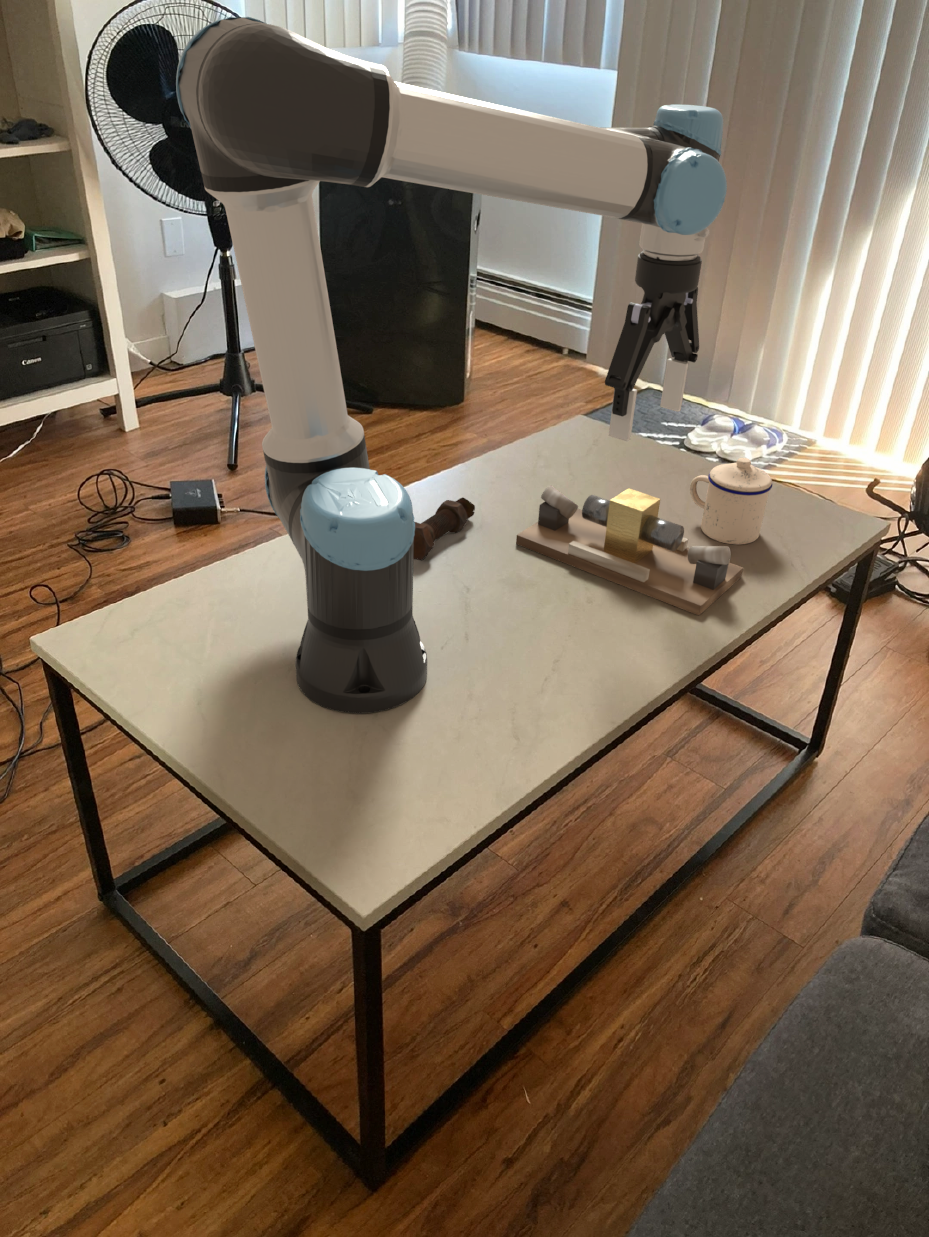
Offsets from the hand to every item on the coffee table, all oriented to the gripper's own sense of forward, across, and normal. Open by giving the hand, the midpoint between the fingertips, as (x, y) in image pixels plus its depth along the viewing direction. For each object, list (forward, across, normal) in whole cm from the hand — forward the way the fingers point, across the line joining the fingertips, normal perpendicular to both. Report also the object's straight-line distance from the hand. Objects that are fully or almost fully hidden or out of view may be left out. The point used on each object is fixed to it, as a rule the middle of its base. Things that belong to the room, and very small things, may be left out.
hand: (645, 423), depth 128 cm
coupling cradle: (+20, 0, 0) cm, 21 cm away
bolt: (+21, -12, +24) cm, 34 cm away
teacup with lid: (+21, +18, -6) cm, 28 cm away
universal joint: (+19, 0, 0) cm, 19 cm away
